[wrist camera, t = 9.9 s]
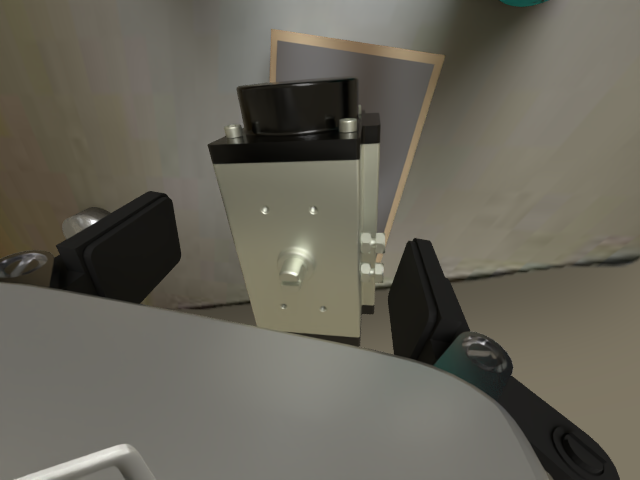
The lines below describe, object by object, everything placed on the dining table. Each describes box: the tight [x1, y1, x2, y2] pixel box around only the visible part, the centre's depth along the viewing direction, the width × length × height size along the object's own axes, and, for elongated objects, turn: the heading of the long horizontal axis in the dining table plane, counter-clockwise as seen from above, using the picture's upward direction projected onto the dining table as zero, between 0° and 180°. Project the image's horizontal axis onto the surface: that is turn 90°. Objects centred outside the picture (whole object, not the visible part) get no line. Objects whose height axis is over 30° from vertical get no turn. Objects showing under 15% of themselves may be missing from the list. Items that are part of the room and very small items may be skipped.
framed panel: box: [270, 29, 445, 263], centre depth 21 cm, size 10×15×3 cm, turn 172°
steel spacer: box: [62, 207, 111, 239], centre depth 29 cm, size 5×5×2 cm
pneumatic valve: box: [208, 76, 385, 347], centre depth 14 cm, size 6×12×12 cm, turn 4°
